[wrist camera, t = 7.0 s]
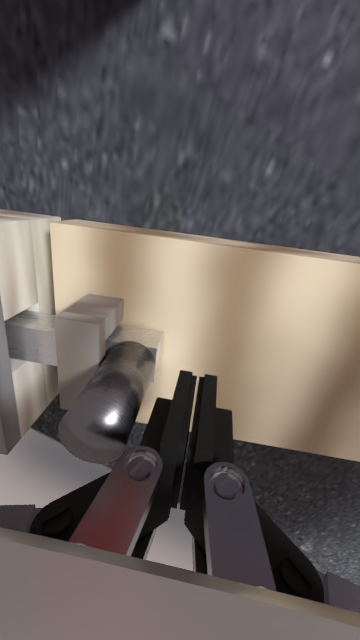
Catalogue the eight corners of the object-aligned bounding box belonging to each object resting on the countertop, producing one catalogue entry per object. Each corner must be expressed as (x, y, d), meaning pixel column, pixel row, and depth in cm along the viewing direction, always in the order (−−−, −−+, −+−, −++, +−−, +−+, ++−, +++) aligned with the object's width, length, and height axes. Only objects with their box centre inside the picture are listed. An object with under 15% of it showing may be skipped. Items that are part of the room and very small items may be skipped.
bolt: (164, 328, 15) (127, 416, 9) (160, 365, 16) (124, 468, 10) (-56, 294, 16) (-233, 352, 10) (-47, 331, 17) (-204, 406, 11)
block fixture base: (439, 267, 16) (597, 311, 9) (359, 430, 20) (427, 535, 14) (-62, 201, 17) (-224, 198, 11) (-28, 364, 22) (-127, 428, 16)
